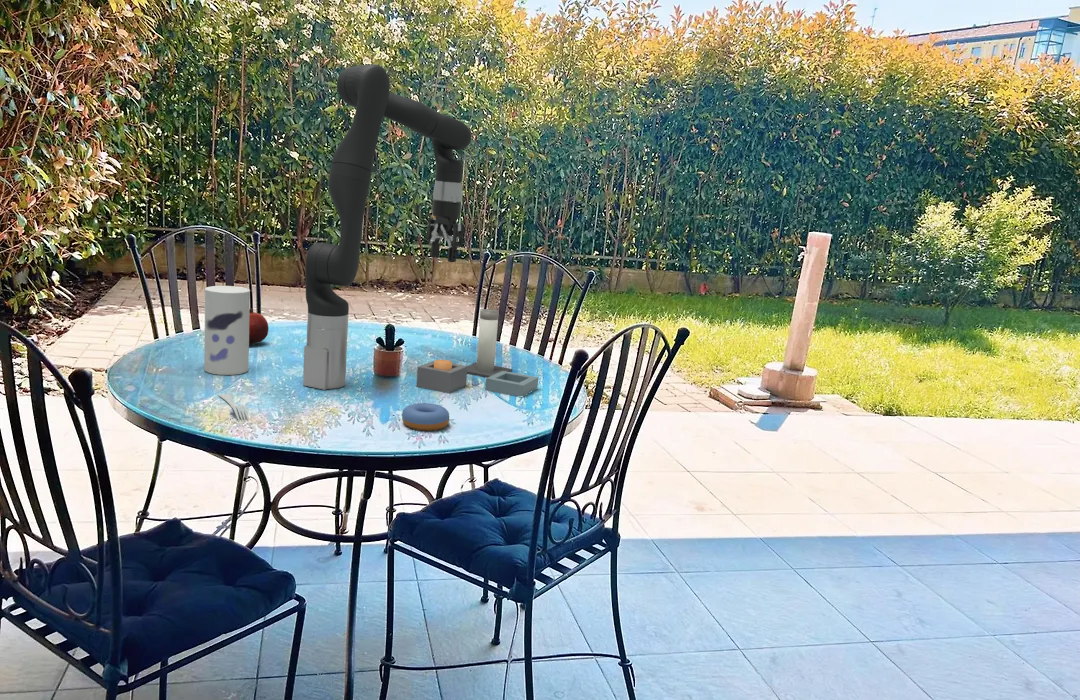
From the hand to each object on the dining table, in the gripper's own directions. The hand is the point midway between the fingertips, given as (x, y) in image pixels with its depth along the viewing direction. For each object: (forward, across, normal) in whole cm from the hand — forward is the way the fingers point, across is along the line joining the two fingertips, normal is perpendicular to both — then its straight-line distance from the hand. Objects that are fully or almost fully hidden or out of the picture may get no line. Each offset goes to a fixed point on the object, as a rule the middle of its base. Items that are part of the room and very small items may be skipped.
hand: (443, 259), depth 226 cm
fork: (+29, +23, -64) cm, 74 cm away
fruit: (+28, -32, -41) cm, 59 cm away
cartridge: (+28, +15, +6) cm, 32 cm away
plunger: (+28, +24, -13) cm, 39 cm away
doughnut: (+29, +48, -32) cm, 65 cm away
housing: (+28, +32, +2) cm, 43 cm away
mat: (+28, +15, +6) cm, 32 cm away
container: (+28, -6, -56) cm, 63 cm away
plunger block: (+28, +24, -13) cm, 39 cm away
